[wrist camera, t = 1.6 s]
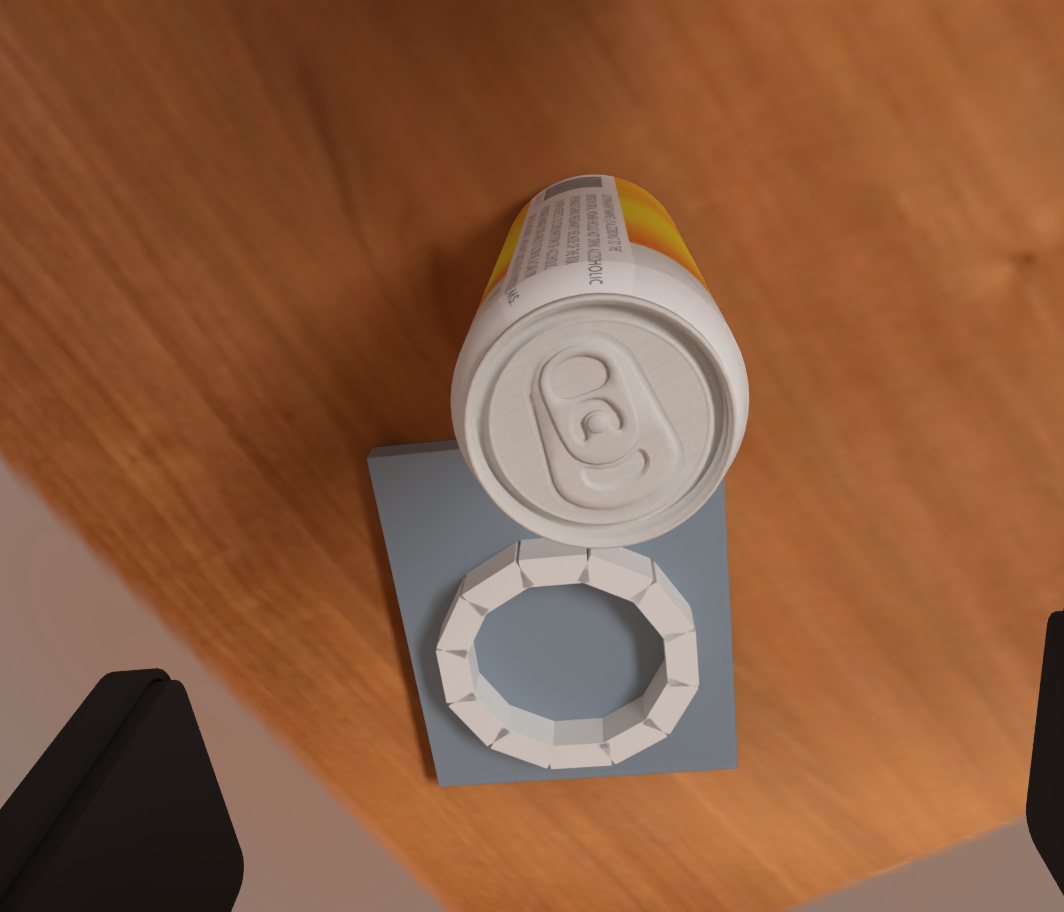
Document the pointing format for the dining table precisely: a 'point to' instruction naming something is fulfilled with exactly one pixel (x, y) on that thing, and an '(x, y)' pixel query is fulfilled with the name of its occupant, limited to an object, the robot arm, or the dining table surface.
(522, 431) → the beer can
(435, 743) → the base board
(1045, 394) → the dining table surface
